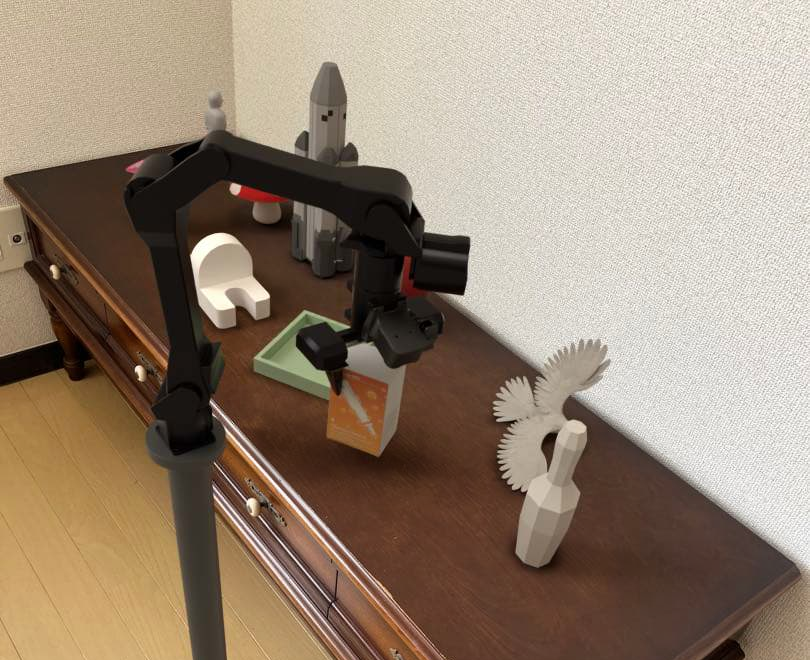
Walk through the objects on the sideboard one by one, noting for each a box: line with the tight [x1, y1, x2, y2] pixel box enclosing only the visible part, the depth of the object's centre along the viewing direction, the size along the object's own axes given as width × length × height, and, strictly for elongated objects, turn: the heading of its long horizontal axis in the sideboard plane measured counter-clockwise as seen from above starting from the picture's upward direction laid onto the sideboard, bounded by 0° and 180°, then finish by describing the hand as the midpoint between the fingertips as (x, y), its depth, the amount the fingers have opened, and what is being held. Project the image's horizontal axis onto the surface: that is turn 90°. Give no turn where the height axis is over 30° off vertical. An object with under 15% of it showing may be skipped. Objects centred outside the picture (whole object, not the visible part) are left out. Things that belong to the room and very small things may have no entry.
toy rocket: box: [290, 61, 360, 280], centre depth 140 cm, size 12×9×35 cm
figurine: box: [201, 89, 227, 134], centre depth 172 cm, size 9×4×15 cm, turn 42°
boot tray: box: [253, 309, 376, 401], centre depth 130 cm, size 16×14×3 cm
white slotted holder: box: [190, 232, 271, 330], centre depth 137 cm, size 10×18×11 cm, turn 34°
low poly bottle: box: [515, 419, 588, 569], centre depth 99 cm, size 6×6×22 cm
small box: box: [326, 343, 407, 458], centre depth 109 cm, size 8×6×13 cm
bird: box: [492, 338, 612, 493], centre depth 120 cm, size 21×16×15 cm
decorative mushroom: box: [229, 145, 290, 225], centre depth 156 cm, size 14×14×15 cm
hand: (366, 384), depth 107 cm, fingers closed on small box, 9 cm apart
